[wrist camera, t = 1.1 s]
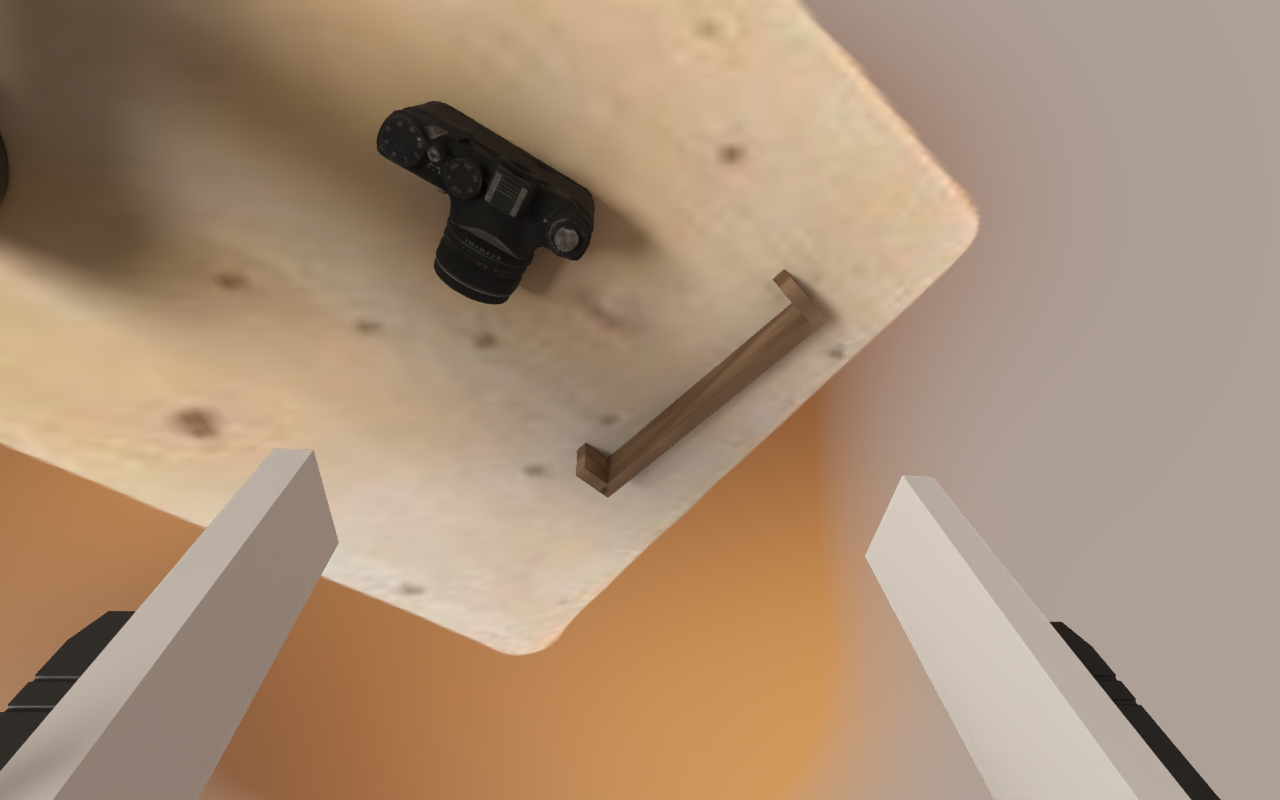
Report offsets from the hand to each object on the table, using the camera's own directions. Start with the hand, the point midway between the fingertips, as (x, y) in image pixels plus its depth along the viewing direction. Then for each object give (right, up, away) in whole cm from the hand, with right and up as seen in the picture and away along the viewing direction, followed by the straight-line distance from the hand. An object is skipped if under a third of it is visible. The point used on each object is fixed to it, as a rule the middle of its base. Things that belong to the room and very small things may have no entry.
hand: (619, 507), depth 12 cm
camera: (-11, +18, +29) cm, 36 cm away
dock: (+5, +4, +39) cm, 39 cm away
